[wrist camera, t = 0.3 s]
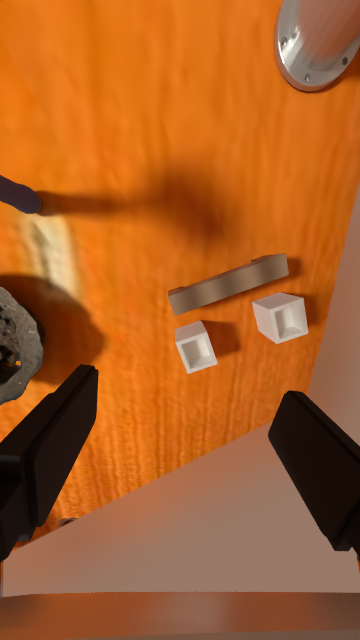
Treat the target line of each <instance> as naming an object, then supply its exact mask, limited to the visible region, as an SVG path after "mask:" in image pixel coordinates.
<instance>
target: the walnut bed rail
mask: <svg viewBox="0 0 360 640" xmlns="http://www.w3.org/2000/svg"><path fill="white" fill-rule="evenodd" d="M287 275H289V272H288V265H287V259H286V253H285V254H276V255H267V256H262V257H259V258H256V259H254V260H251V263H249V264H246V265H243V266H241V267H238V268H235V269H233V270H230V271H227V272H225V273H222V274H219V275H217V276H214V277H211V278H208V279H206V280H203V281H200V282H198V283H195V284H192V285H190V286H187V287H184V288H182V289H181V288H180V287H179V288H176V289H173V290H171V291H169V293H168V298H169V301H170V304H171V306H172V309H173V311H174V314H175V316H176V315H179V314H182V313H185V312H187V311H190V310H193V309H196V308H199V307H201V306H204V305H207V304H210V303H212V302H215V301H218V300H221V299H223V298H226V297H229V296H232V295H234V294H237V293H240V292H243V291H246V290H248V289H251V288H254V287H257V286H259V285H262V284H265V283H268V282H270V281H273V280H276V279H279V278H281V277H284V276H287Z"/></svg>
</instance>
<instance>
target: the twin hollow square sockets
mask: <svg viewBox="0 0 360 640" xmlns="http://www.w3.org/2000/svg"><path fill="white" fill-rule="evenodd" d="M252 305H253V309H254V313H255V317H256V321H257V326H258V330H259V331H260V332H261V333H262V334H264V335H265V336H266V337H268V338H269V339H270V340H272V341H273V342H274V343H276V344H278V343H281V342H284V341H287V340H290V339H293V338H296V337H299V336H302V335H305V334H308V327H307V320H306V313H305V306H304V299H303V298H301V297H297V296H293V295H289V294H285V293H281V292H278V293H275V294H273V295H270V296H267V297H264V298H261V299H259V300H256V301H253V302H252ZM175 343H176V346H177V348H178V350H179V353H180V355H181V358H182V360H183V363H184V365H185V368H186V370H187V373H188V374H189V373H192V372H195V371H198V370H201V369H204V368H207V367H210V366H213V365H216V364H218V363H217V360H216V357H215V354H214V352H213V349H212V346H211V343H210V340H209V337H208V334H207V331H206V329H205V327H204V325H203V323H202V322H201V320H200V321H197V322H194V323H191V324H188V325H186V326H183V327H180V328H177V329H175Z"/></svg>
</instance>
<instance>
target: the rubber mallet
mask: <svg viewBox="0 0 360 640" xmlns="http://www.w3.org/2000/svg"><path fill="white" fill-rule="evenodd" d="M0 201H1V202H4V203H7V204H9V205H11V206H13V207H15V208H16V209H18V210H19V211H21V212H24V213H26V214H34V213H36V212H38V211H39V210H40V209H41V205H42V204H41V201H40V199H39V197H38V196H37V194H36V193H35V192H34V191H33V190H32V189H31V188H29V187H27V186H25V185H22V184H18V183H15V182H13V181H11V180H9V179H7V178H5V177H3V176H1V175H0Z"/></svg>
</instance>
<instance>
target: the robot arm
mask: <svg viewBox="0 0 360 640" xmlns="http://www.w3.org/2000/svg"><path fill="white" fill-rule="evenodd" d="M359 46H360V0H283V3H282V5H281V8H280V11H279V14H278V18H277V22H276V28H275V53H276V58H277V62H278V65H279V68H280V70H281V72H282V74H283V76H284V77H285V79H286V80H287V81H288V82H289V83H290V84H291V85H292V86H293V87H295V88H297V89H299V90H303V91H317V90H320V89H323V88H324V87H326V86H328V85H330V84H331V83H332V82H333V81H335V80H336V79H337V78H338V77H339V76H340V75H341V74H342V72H343V71H344V70H345V69H346V68H347V66H348V65H349V64H350V62H351V61H352V60H353V58H354V56H355V54H356V53H357V51H358V49H359ZM97 391H98V370H97V369H95V367H94V366H91V365H83V364H81V365H79V366H78V367H77V368H76V369H75V371H74V372H73V373H72V374H71V375H70V376H69V377H68V378H67V379H66V380H65V381H64V382H63V383H62V384H61V385H60V386H59V387H58V389H57V390H56V391H55V392H54V393H50V394H48V395H47V396H46V397H45V398H44V399H43V400H42V401H41V402H40V403H39V404H38V405H37V406H36V407H35V408H34V409H33V410H32V411H31V412H30V413H29V414H28V415H27V416H26V417H25V418H24V419H23V420H22V421H21V422H20V423H19V424H18V425H17V426H16V427H15V428H14V429H13V430H12V431H11V432H10V433H9V434H8V435H7V436H6V437H5V438H4V439H3V440H2V442H1V443H0V640H360V593H315V592H314V593H311V592H95V593H62V594H30V595H21V596H11V597H3V560H5V559H6V558H7V557H8V556H9V554H10V552H11V551H12V549H13V547H14V545H15V544H16V542H17V541H30V539H31V537H32V535H33V533H34V531H35V529H36V527H41V526H42V525H43V524H44V522H45V521H46V519H47V517H48V515H49V513H50V511H51V509H52V507H53V505H54V503H55V501H56V499H57V497H58V495H59V493H60V491H61V489H62V487H63V485H64V483H65V481H66V479H67V477H68V475H69V473H70V471H71V469H72V467H73V465H74V463H75V461H76V459H77V457H78V455H79V453H80V451H81V449H82V447H83V445H84V443H85V441H86V439H87V437H88V435H89V433H90V431H91V429H92V427H93V425H94V422H95V419H96V411H97ZM268 437H269V440H270V442H271V444H272V446H273V447H274V449H275V451H276V453H277V455H278V456H279V458H280V460H281V461H282V463H283V465H284V467H285V469H286V471H287V472H288V474H289V476H290V478H291V479H292V481H293V483H294V484H295V486H296V488H297V490H298V492H299V493H300V495H301V497H302V499H303V500H304V502H305V504H306V506H307V507H308V509H309V511H310V513H311V515H312V516H313V518H314V520H315V521H316V523H317V525H318V527H319V529H320V530H321V532H322V533H323V534H324V536H326V537H327V538H328V540H329V542H330V544H331V545H332V547H333V549H334V550H335V551H349V550H350V548H351V547H353V548H354V550H355V552H356V553H357V560H358V566H359V572H360V446H359V445H358V444H357V443H355V442H354V441H353V440H352V439H351V438H350V437H349V436H348V435H347V434H346V433H345V432H344V431H343V430H342V429H341V428H340V427H339V426H338V425H337V424H336V423H334V422H333V421H332V420H331V419H330V418H329V417H328V416H327V415H326V414H325V413H324V412H323V411H322V410H321V409H320V408H319V407H318V406H317V405H316V404H314V403H313V402H312V401H311V400H310V399H309V398H308V397H307V396H306V395H305V394H304V393H302V392H299V391H291V390H290V391H288V392H287V393H285V394H284V396H283V398H282V401H281V403H280V406H279V408H278V411H277V413H276V415H275V418H274V420H273V423H272V425H271V427H270V430H269V433H268Z"/></svg>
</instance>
